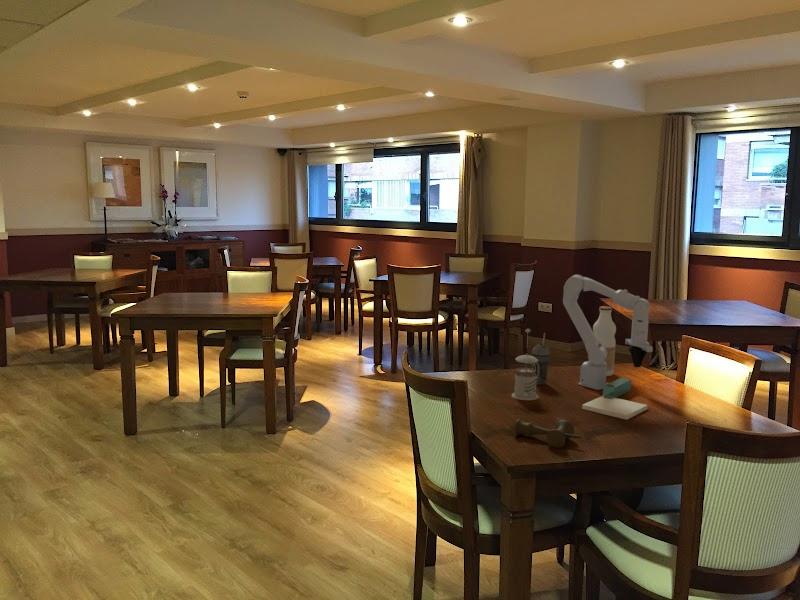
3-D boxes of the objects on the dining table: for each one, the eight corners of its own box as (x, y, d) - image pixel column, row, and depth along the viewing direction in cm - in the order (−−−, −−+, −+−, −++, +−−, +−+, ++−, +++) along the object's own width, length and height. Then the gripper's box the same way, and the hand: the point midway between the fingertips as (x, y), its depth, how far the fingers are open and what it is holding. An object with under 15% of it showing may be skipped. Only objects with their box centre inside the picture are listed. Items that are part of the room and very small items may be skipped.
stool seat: (582, 408, 228) (582, 402, 228) (603, 399, 240) (604, 393, 239) (626, 419, 217) (627, 413, 217) (647, 409, 229) (647, 403, 229)
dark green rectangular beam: (613, 399, 239) (614, 387, 238) (602, 397, 241) (603, 385, 240) (630, 390, 250) (631, 378, 249) (620, 388, 253) (621, 376, 252)
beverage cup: (526, 381, 263) (529, 331, 260) (543, 379, 265) (545, 330, 262) (536, 386, 256) (538, 335, 253) (552, 384, 258) (555, 334, 255)
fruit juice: (612, 377, 270) (616, 309, 266) (588, 375, 274) (592, 307, 270) (614, 372, 279) (618, 306, 275) (591, 369, 282) (595, 304, 278)
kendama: (521, 431, 206) (586, 442, 196) (510, 441, 198) (577, 453, 188) (521, 413, 205) (586, 422, 196) (510, 422, 197) (577, 432, 187)
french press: (505, 395, 243) (508, 328, 239) (525, 390, 250) (528, 324, 247) (527, 401, 235) (530, 332, 232) (547, 395, 243) (550, 328, 239)
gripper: (661, 334, 242) (658, 371, 244) (637, 327, 255) (635, 361, 257) (643, 335, 240) (641, 371, 242) (621, 327, 254) (619, 362, 256)
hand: (637, 366), depth 250 cm, fingers closed
